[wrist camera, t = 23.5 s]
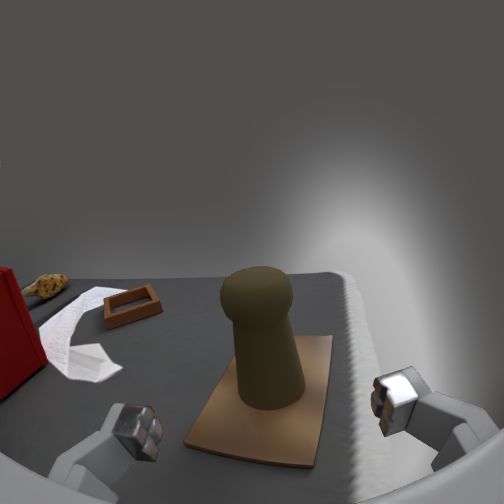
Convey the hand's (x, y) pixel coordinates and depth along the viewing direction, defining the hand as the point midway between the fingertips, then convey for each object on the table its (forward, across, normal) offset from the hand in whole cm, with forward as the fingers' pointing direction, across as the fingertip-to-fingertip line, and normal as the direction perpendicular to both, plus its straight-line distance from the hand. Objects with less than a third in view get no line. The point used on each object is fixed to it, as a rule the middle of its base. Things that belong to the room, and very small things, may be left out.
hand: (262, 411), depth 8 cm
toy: (+47, +58, +8) cm, 75 cm away
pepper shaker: (+12, 0, +10) cm, 15 cm away
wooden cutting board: (+12, 0, +11) cm, 16 cm away
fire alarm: (+13, +38, -5) cm, 41 cm away
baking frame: (+32, +22, +11) cm, 41 cm away
